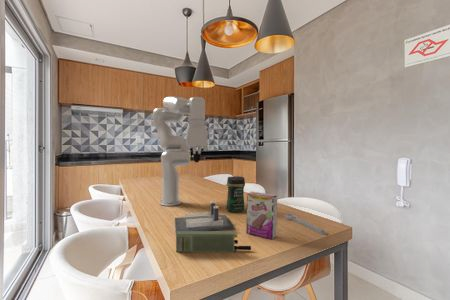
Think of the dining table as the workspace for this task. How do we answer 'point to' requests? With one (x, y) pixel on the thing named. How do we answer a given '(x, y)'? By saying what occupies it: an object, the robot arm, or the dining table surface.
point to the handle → (216, 213)
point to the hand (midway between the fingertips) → (196, 162)
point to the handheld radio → (207, 241)
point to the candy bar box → (261, 214)
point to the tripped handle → (212, 207)
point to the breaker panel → (202, 222)
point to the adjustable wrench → (304, 223)
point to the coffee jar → (235, 194)
